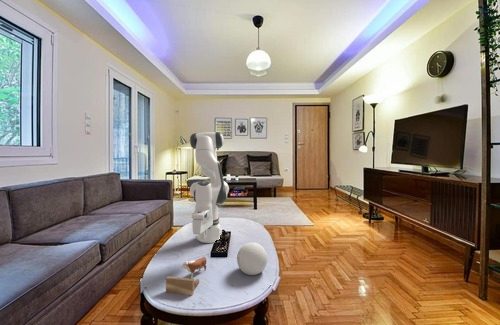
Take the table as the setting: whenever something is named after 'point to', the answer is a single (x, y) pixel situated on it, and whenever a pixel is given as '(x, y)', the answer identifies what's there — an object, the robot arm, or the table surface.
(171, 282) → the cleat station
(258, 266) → the decorative object
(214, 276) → the table surface
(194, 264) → the bull figurine
